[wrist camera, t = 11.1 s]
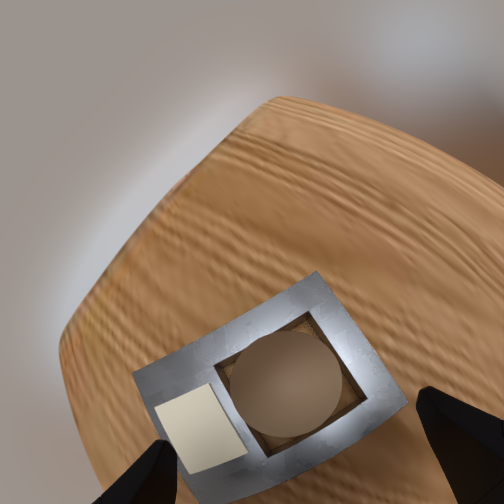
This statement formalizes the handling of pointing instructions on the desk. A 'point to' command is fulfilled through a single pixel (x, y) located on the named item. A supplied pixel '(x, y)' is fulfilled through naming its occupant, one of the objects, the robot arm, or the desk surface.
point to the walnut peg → (286, 384)
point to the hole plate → (227, 418)
